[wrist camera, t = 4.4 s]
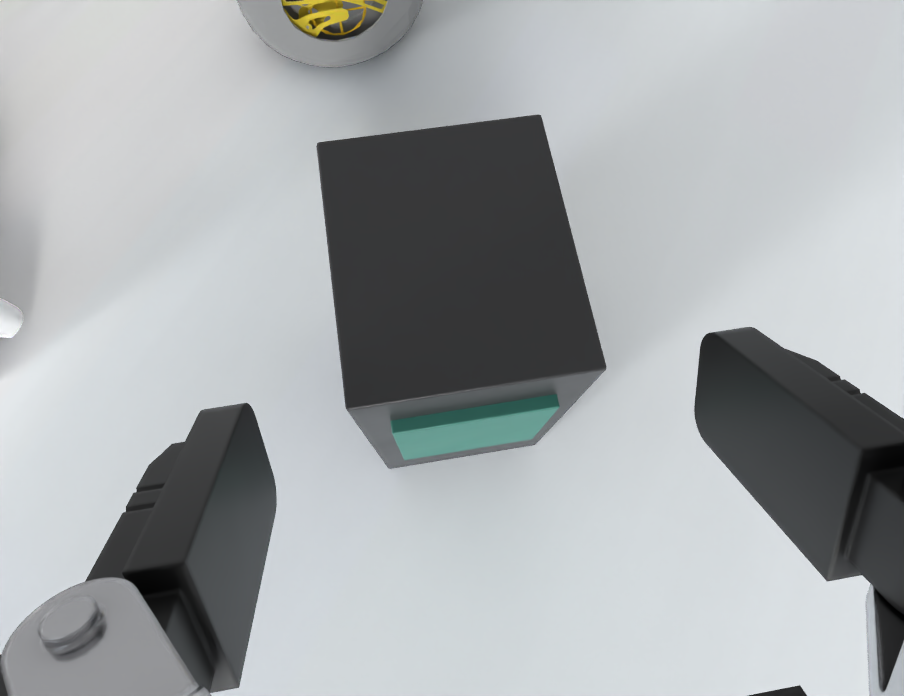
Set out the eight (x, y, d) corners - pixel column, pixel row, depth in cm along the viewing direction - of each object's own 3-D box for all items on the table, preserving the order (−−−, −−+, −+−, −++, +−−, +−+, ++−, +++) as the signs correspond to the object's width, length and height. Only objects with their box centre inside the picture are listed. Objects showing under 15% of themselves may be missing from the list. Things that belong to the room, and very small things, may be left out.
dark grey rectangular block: (538, 453, 20) (612, 384, 11) (389, 478, 19) (347, 426, 11) (502, 283, 22) (541, 112, 13) (366, 303, 21) (315, 141, 13)
